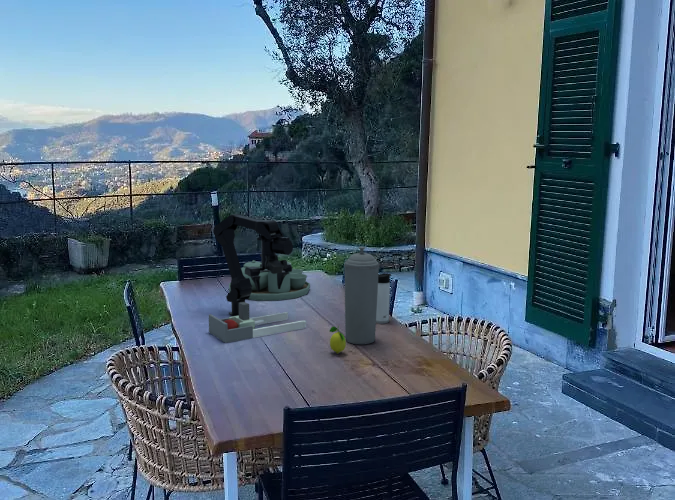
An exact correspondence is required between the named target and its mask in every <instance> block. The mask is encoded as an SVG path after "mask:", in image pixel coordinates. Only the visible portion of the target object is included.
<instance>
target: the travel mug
mask: <svg viewBox="0 0 675 500" xmlns="http://www.w3.org/2000/svg"><path fill="white" fill-rule="evenodd" d="M391 277H392V274H391V273H380V274H379V273H378V294H377V313H376V324H381V325H382V324H388V323H389V321H390V298H391V297H390V293H391V292H390V291H391V287H390V285H391Z"/></svg>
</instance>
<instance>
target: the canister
mask: <svg viewBox="0 0 675 500" xmlns="http://www.w3.org/2000/svg"><path fill="white" fill-rule="evenodd" d="M358 249H359V252H357V253H353V254H351V255H350V256H349V257H348V258H347V260H346V261H344V264H343V266H344V309H345V310H344V320H345V321H344V325H345V326H344V327H345V328H344V329H345V335H344V337H345V340H346V343H350V344H354V345H369V344H372V343H373V342H375V340H376V328H377V327H376V326H377V325H376V324H377V323H376V313H377V294H378V274H379V270H380V263H379V262H378V261H377V259H376V258H375V257H374V256H373V255H372V254H370V253H366V252H364V250H365V249H366V247H365V246H359V247H358Z"/></svg>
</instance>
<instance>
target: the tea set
mask: <svg viewBox="0 0 675 500" xmlns="http://www.w3.org/2000/svg"><path fill="white" fill-rule="evenodd" d="M260 264H262V261H261V262H260V261H256V260H254V259H253V260H252V261H249V262H245V263H244V264H243V267H242V266H241V270H242V273H243V275H244V277H245V278H249V279H250V282H251V285H252V287H251V288H252V292H251V294H250V298H249V299H248V300H251V301H256V302H257V301H259V302H260V301H261V302H263V301H264V302H265V301H269V302H270V301H271V302H272V301H275V302H276V301H278V302H279V301H282V300H283V301H284V300H286V301H287V300H291V299H296V298H300V297H302V296H305V295H307V294H308V293H309V291H310V289H311V283H310V282H308V281H306V280H307V278H308V275H307V274H305V273H303V272H304V270H302V269H300V268H299V269H298V268H292V272H289V274H287V275H286V276H285V277H284V280H283V282H282V285H281V288H280V289H278V286H277V273H276V274H272V273H271V271H270V272H262V273H260V274H259V276H261V277H260V292H258V291H257V289H256V287H255V284H254V282H253V280H252V279H251V277H250V276H248V275H246V274H245V268H246V267H252V266H255V267H257V268H262V267H260ZM287 264H291V265H292V262H289V261H287ZM266 270H267V269H266ZM230 278H231V277H230ZM231 280H232V278H231V279H230V281H231ZM230 284H231V282H229V283H228V294H229V293H230V291H231V288H230Z"/></svg>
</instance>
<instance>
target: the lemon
mask: <svg viewBox="0 0 675 500" xmlns="http://www.w3.org/2000/svg"><path fill="white" fill-rule="evenodd" d="M338 328H340V327H339V325H337V327H336V326H331V328H330V329H329V332H331V333H333V334H332V335H331V337H330V339H329V347H330V349H331V350H332V351H333V352H335V353H336V354H338V355H339V354H340V353H341V352H343V351H344V350H345V348H346V346H347V341H346V338H345V335H344V334H343V333H342V332H340V330H339V329H338Z"/></svg>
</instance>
